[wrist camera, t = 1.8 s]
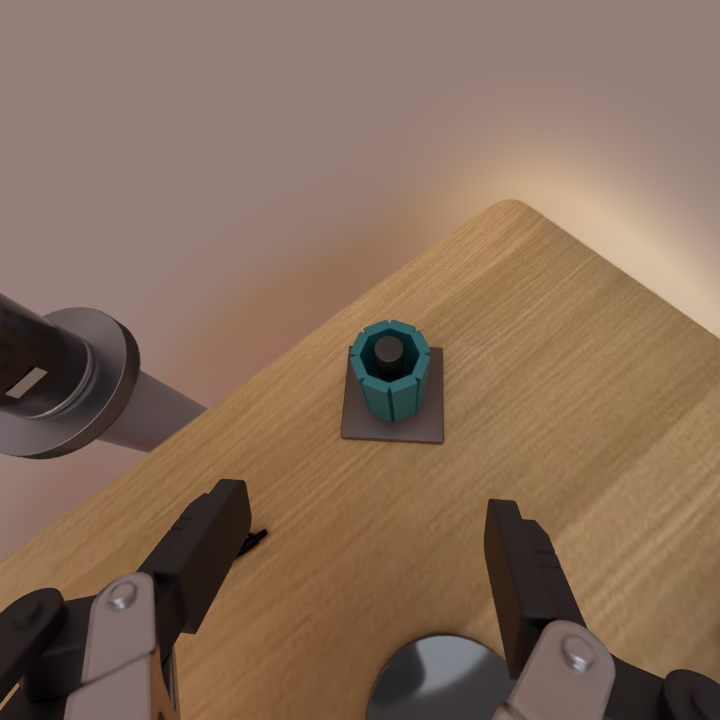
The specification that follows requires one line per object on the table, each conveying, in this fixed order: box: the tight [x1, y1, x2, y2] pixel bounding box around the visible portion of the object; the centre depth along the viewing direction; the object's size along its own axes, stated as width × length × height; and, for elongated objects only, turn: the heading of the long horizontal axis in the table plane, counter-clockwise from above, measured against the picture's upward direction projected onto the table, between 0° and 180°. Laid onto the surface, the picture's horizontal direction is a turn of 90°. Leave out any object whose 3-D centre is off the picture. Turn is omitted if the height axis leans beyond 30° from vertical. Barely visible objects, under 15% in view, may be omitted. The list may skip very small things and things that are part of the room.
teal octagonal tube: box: [349, 320, 431, 422], centre depth 30 cm, size 6×6×8 cm
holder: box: [341, 336, 444, 444], centre depth 30 cm, size 9×9×10 cm
